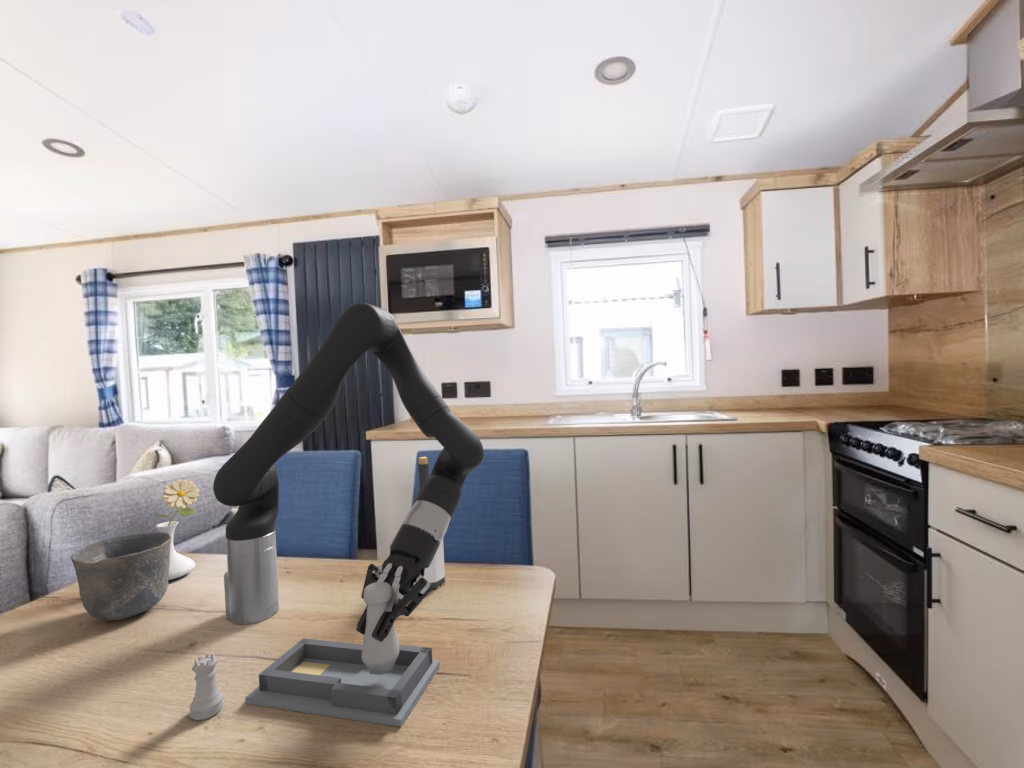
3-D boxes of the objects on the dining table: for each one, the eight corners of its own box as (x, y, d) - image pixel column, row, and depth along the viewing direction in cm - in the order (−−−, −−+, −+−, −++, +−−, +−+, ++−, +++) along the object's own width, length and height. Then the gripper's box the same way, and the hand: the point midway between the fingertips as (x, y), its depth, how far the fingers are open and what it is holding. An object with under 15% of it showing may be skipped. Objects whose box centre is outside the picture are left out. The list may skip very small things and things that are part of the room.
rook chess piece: (200, 702, 73) (197, 651, 73) (230, 700, 74) (227, 648, 74) (182, 723, 69) (179, 669, 69) (214, 720, 69) (212, 666, 69)
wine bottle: (417, 575, 118) (412, 454, 117) (449, 576, 117) (444, 454, 116) (406, 590, 110) (400, 460, 109) (440, 591, 109) (434, 460, 108)
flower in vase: (137, 590, 116) (131, 488, 116) (147, 574, 126) (142, 480, 126) (200, 578, 122) (195, 480, 122) (205, 563, 132) (201, 473, 132)
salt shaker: (389, 680, 72) (385, 594, 71) (355, 677, 73) (350, 592, 72) (406, 657, 77) (401, 577, 77) (373, 654, 78) (369, 576, 78)
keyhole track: (439, 666, 80) (439, 646, 80) (401, 726, 66) (400, 702, 66) (305, 651, 86) (305, 632, 86) (245, 703, 73) (244, 681, 73)
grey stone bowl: (53, 625, 100) (49, 554, 100) (144, 589, 116) (141, 528, 116) (104, 640, 93) (100, 564, 93) (193, 599, 109) (190, 535, 109)
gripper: (381, 517, 85) (324, 616, 75) (440, 528, 77) (385, 640, 67) (405, 537, 89) (354, 633, 79) (463, 550, 81) (414, 657, 71)
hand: (369, 635), depth 73 cm, fingers closed on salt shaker, 3 cm apart
